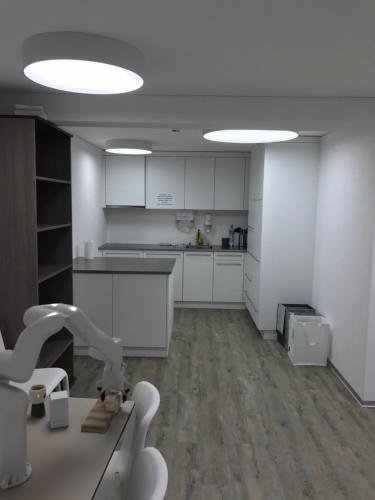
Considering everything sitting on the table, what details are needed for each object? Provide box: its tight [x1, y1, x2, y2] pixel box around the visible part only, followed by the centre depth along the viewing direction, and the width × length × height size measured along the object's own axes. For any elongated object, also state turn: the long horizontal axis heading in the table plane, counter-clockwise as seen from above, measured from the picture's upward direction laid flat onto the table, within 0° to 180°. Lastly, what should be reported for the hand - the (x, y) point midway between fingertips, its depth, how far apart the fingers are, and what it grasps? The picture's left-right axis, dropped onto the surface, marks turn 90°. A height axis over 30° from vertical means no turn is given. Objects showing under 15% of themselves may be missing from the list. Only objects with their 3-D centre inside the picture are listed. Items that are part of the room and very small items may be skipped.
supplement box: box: [49, 390, 69, 429], centre depth 168 cm, size 7×7×13 cm
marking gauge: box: [105, 390, 123, 414], centre depth 179 cm, size 9×5×7 cm, turn 175°
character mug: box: [28, 383, 47, 418], centre depth 174 cm, size 11×7×13 cm, turn 23°
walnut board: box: [80, 397, 116, 434], centre depth 174 cm, size 24×10×3 cm, turn 175°
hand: (113, 401), depth 179 cm, fingers open, 9 cm apart
